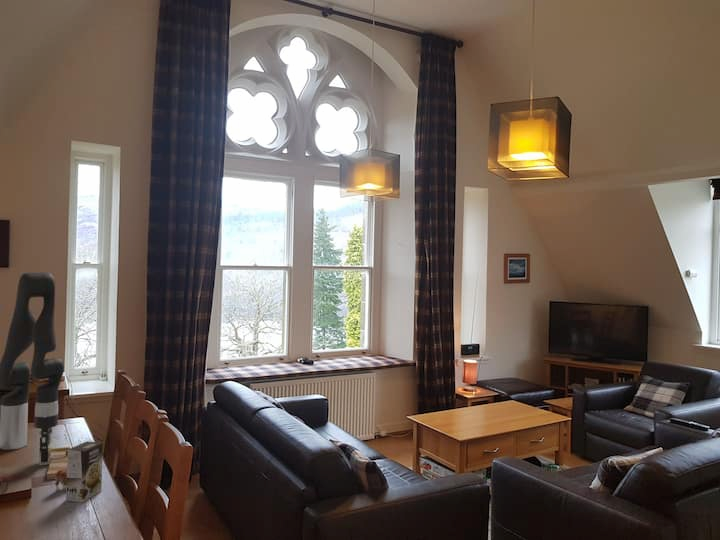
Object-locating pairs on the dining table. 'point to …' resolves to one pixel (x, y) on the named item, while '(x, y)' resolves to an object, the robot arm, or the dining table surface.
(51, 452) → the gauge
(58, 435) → the dining table surface
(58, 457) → the board
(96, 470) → the coffee box
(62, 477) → the bull figurine
